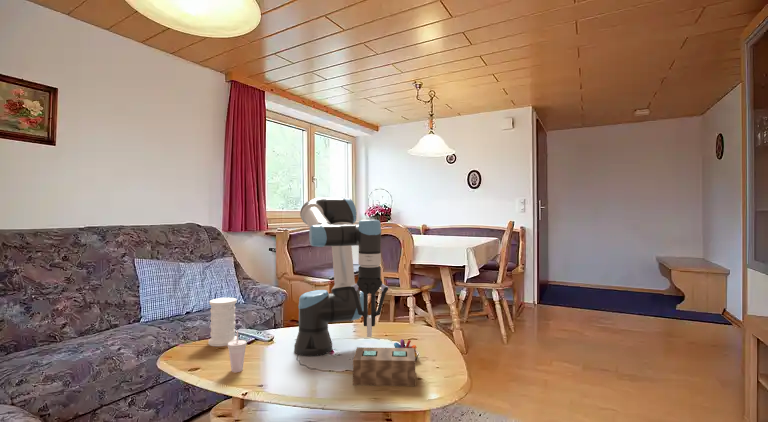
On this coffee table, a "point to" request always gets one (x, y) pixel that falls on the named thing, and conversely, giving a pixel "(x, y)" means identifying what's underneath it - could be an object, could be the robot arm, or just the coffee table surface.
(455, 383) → the coffee table surface
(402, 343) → the rainbow disc car
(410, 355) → the socket block
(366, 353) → the peg
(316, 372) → the coffee table surface
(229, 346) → the smoothie
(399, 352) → the peg
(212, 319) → the decorative container
